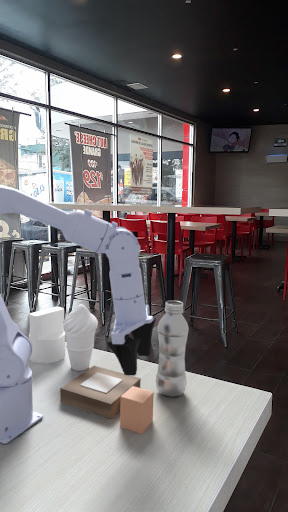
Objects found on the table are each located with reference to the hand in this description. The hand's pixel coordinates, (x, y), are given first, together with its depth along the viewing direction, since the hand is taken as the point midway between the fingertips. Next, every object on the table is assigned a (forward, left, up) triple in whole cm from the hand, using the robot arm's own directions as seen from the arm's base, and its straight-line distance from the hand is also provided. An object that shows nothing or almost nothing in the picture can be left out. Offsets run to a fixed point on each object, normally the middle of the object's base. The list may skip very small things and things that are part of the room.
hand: (137, 364), depth 75 cm
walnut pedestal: (+3, +10, -11) cm, 15 cm away
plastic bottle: (+12, -2, -11) cm, 16 cm away
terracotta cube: (-2, -1, -11) cm, 11 cm away
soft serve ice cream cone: (+12, +22, -11) cm, 27 cm away
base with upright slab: (+13, +33, -11) cm, 37 cm away
